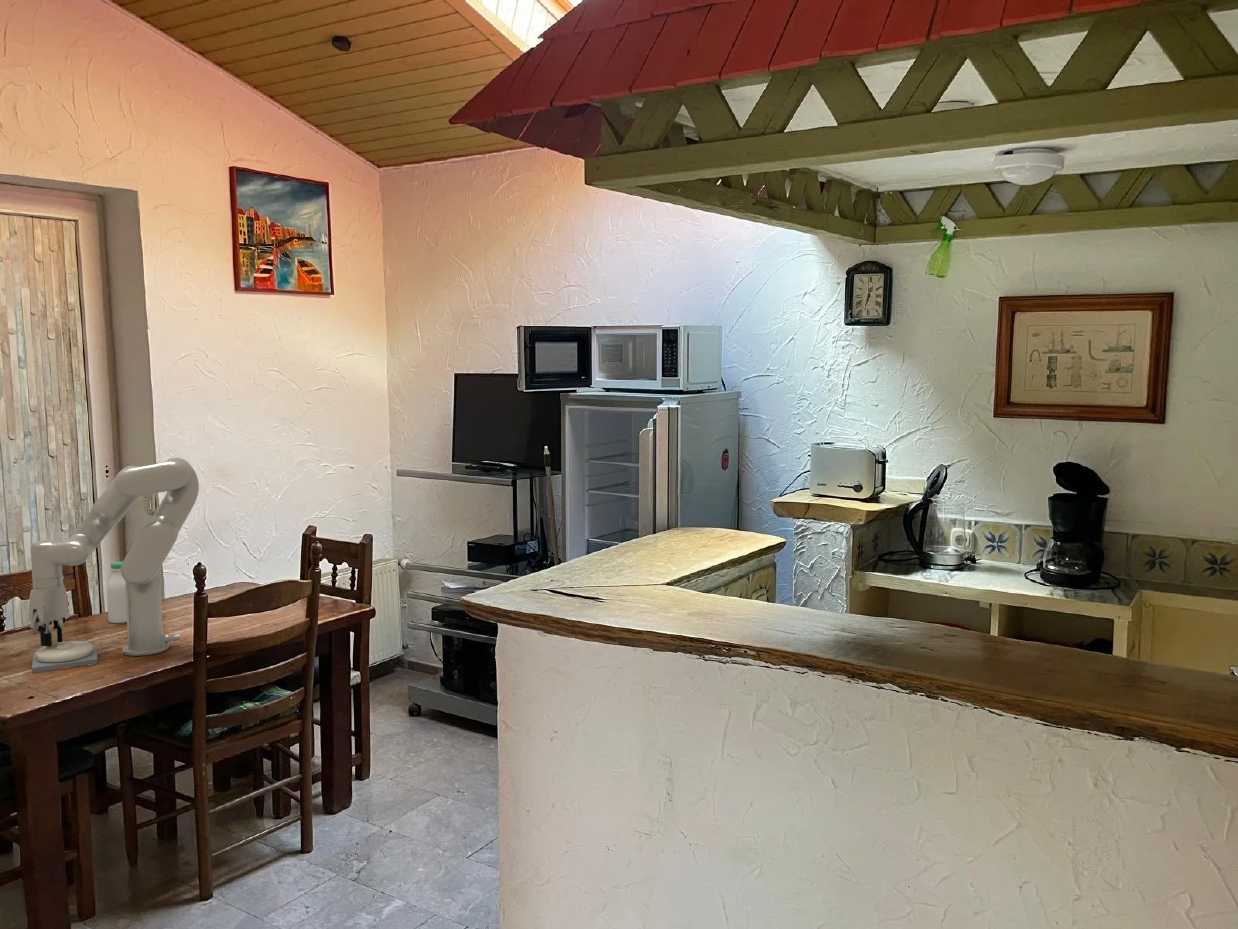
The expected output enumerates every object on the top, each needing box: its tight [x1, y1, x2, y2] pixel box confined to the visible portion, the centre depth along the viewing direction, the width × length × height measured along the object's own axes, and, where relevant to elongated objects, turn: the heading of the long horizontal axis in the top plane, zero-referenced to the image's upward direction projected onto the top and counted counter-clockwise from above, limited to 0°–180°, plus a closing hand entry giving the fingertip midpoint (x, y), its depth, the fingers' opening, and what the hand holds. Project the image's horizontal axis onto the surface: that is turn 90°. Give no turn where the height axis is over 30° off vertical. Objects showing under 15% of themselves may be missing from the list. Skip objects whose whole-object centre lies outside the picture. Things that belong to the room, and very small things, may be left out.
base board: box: [31, 644, 99, 674], centre depth 268 cm, size 16×16×2 cm
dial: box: [35, 627, 93, 662], centre depth 267 cm, size 14×14×7 cm
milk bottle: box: [106, 561, 127, 624], centre depth 309 cm, size 8×8×20 cm
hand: (51, 643), depth 269 cm, fingers open, 3 cm apart
